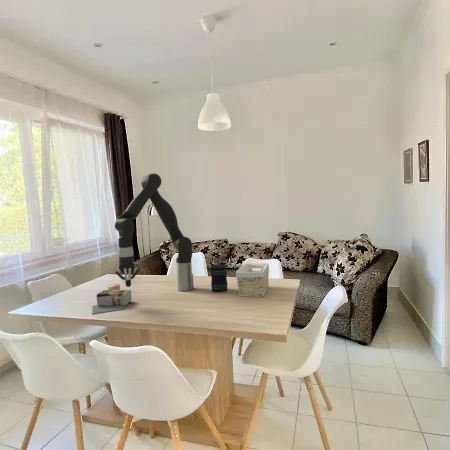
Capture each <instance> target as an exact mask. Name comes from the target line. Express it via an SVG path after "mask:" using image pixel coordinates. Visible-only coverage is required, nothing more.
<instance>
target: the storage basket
mask: <svg viewBox="0 0 450 450" xmlns="http://www.w3.org/2000/svg"><path fill="white" fill-rule="evenodd" d="M269 265H270V264H268V262H267V263H255V262H254V263H251V262H250V263H243V264H242V265H241V266H240V267H239V268H238V269H237V270H236V271H235V279H236V282H237V284H236V285H237V289H238V290H237V291H238V296H240V297H252V298H255V297H256V298H262V297H264V296H265V294H266V293H267V291H268V289H269V286H270V285H269V276H270V275H269V272H270V270H269V269H270V266H269ZM253 269H260V270H253Z"/></svg>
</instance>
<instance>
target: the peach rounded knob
mask: <svg viewBox="0 0 450 450" xmlns="http://www.w3.org/2000/svg"><path fill="white" fill-rule="evenodd" d="M106 288H107V290H121V285H120V284H118V283H113V284H109V285H107V287H106Z"/></svg>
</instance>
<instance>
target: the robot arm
mask: <svg viewBox="0 0 450 450" xmlns="http://www.w3.org/2000/svg"><path fill="white" fill-rule="evenodd" d="M140 185H141V187H142V189H141V191H140V192H139V193H138V194H137V195H136V196H135V197H134V198H133V199H132V200H131V202H130V204H129V205H128V206H127V208H126V209H125V211H124V212H122V214H120V216H118V217H117V219H116V220H115V223H114V229H115V230H116V231H117V232H122V235H121V236H119V237H118V240H117V241H118V257H119V259H118V262H119V267H118V269H117V270H115V274H116V275H117V277H119V278H120V279H121V280H123V281H124V282H125V286H126V287H127V288H130V287H131V286H132V279H134V278H135V277H136V276H137V274H138V273H139V272H140V269H139V268H138V267H137V266H135V259H134V254H135V253H134V249H133V247H134V246H133V234H134V230H135V228H134V227H135V226H134V222H133V220H135V219H136V218H138V216H139V215H140V213H141V211H142V210H143V208H144V207H145V205H146V204H147V202H148V201H149V199H150V201H151V204H152V205H153V207H154V209H155V211H156V213H157V215H158V217H159V219H160V220H161V222H162V224H163V225H164V228H165V229H166V230H167V233H168V235H169V236H170V239H171V242H172V245H173V246H174V248H175V249H176V250H177V257H176V262H175V263H176V277H177V290H178V291H179V292H189V291H191V290H194V289H195V286H194V273H193V269H192V267H193V266H192V258H193V244H192V241H191V239H190V238H189V237H188V236H184V234H183V233H182V231H181V230H180V227H179V224H178V219H177V214H176V212H175V210H174V208H173V207H172V205H171V204H170V203H169V202H168V201H167V200H166V199H165V198H164V197H162V195H161V194H160V192H159V191H158V189H159V188H160V187H161V186H162V177H161V176H160V175H159V174H157V173H149V174H147V175H145V176H143V177H142V178H141V180H140ZM133 271H134V272H133ZM121 273H122V274H121ZM123 275H124V276H123Z"/></svg>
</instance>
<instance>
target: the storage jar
mask: <svg viewBox="0 0 450 450" xmlns="http://www.w3.org/2000/svg"><path fill="white" fill-rule="evenodd" d="M227 272H228V269H227V265H226V264H213V265H212V264H211V265H210V276H211V278H210V279H211V282H210V284H211V285H210V287H211V292H212V293H224V292H227V291H228V280H227V279H228V278H227V275H228V273H227Z"/></svg>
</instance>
